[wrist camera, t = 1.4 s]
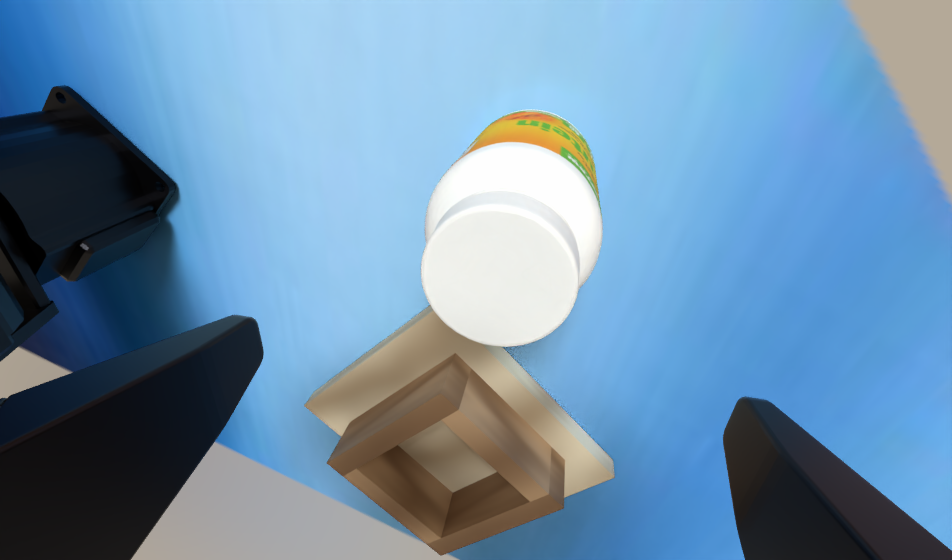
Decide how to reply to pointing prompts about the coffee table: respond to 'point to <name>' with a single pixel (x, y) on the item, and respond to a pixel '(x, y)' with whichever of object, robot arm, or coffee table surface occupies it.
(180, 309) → the coffee table surface
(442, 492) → the collar board
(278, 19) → the coffee table surface
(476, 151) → the supplement bottle
